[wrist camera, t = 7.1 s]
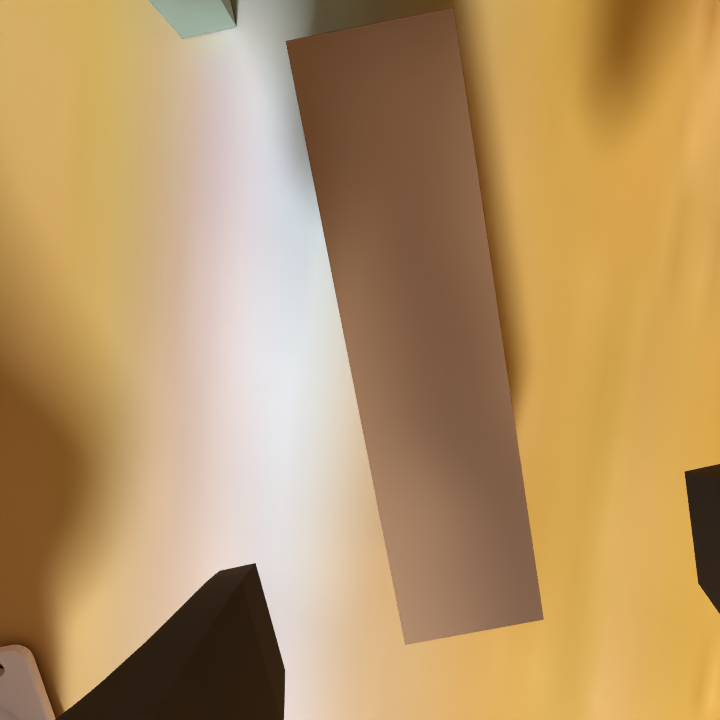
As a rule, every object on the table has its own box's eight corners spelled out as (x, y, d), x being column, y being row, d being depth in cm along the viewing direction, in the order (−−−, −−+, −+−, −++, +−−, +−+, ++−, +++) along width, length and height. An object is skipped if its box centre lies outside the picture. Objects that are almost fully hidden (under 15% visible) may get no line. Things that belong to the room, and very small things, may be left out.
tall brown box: (390, 541, 20) (405, 644, 15) (302, 93, 17) (285, 40, 12) (494, 522, 20) (543, 619, 15) (422, 70, 17) (452, 7, 12)
